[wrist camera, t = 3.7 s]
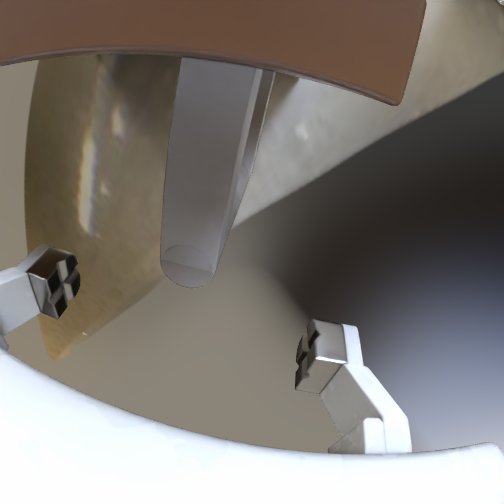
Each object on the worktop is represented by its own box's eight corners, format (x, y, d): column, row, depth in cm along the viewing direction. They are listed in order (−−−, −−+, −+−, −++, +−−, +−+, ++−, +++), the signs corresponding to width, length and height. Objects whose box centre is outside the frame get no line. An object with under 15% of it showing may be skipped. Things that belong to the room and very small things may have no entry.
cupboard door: (279, 157, 24) (235, 452, 6) (86, 124, 24) (-115, 254, 5) (303, 66, 19) (430, -2, 1) (94, 44, 19) (-144, 104, 1)
